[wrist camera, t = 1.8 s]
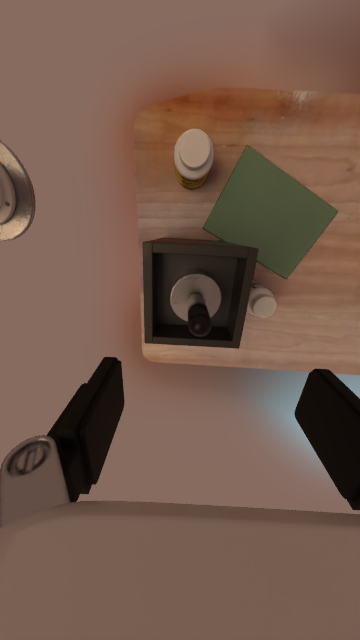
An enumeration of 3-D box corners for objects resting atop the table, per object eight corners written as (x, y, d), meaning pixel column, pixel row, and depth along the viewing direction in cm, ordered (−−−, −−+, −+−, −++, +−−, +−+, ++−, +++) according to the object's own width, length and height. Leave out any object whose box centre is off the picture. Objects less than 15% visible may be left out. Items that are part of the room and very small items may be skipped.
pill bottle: (244, 308, 44) (259, 327, 35) (230, 290, 43) (242, 306, 34) (265, 293, 43) (287, 309, 34) (252, 274, 41) (270, 285, 32)
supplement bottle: (178, 192, 36) (176, 178, 26) (173, 154, 34) (168, 124, 24) (209, 186, 35) (218, 170, 26) (206, 147, 33) (214, 114, 24)
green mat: (202, 228, 38) (202, 228, 38) (246, 146, 33) (247, 144, 32) (285, 278, 42) (286, 279, 41) (336, 211, 37) (338, 211, 36)
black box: (161, 296, 44) (144, 343, 25) (162, 237, 39) (142, 242, 21) (216, 300, 44) (239, 348, 25) (223, 241, 39) (259, 248, 21)
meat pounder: (164, 299, 27) (151, 342, 17) (185, 259, 25) (186, 279, 14) (202, 319, 28) (212, 371, 18) (225, 282, 26) (253, 316, 16)
